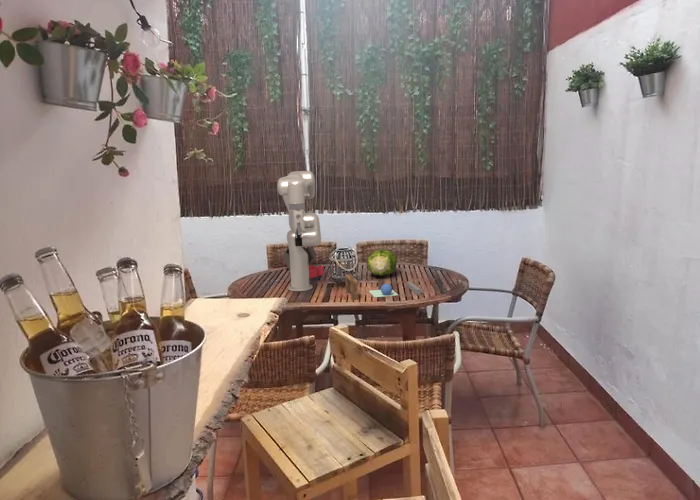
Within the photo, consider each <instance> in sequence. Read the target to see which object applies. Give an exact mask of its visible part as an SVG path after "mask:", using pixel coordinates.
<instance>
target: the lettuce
mask: <svg viewBox="0 0 700 500" xmlns="http://www.w3.org/2000/svg"><path fill="white" fill-rule="evenodd" d="M397 264H398V260H397V256H396V254H395V253H394V252H393V251H392V250H390V249H386V248H385V249H384V248H383V249H376V250H375V251H373V252H372V253H370V254H369V256H368V257H367V260H366V266H367V269H368V271H369V272H370V273H371V274H373V275H375V276H380V277H383V276H384V277H385V276H389V275H390V274H393V273H394V271H395V270H396V267H397Z"/></svg>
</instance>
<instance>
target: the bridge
mask: <svg viewBox="0 0 700 500" xmlns="http://www.w3.org/2000/svg"><path fill="white" fill-rule="evenodd" d="M344 277H345V293H346V294H350V300H351V301H356V300H359V297H358V296H359V293H358V292H359V289H358V280H357V279H356V277H354V275H352V273H348V274H347V273H346V274H345V276H344Z"/></svg>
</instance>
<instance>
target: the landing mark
mask: <svg viewBox="0 0 700 500" xmlns="http://www.w3.org/2000/svg"><path fill="white" fill-rule="evenodd" d="M368 292H369V294H371V296H373V298H383V297H393V296H399V294H398V293H397V292H395V291H394V290H393V289H392V292H391V294H389V295H384V294H383V293H382V292H381V289H375V290H373V289H372V290H368Z"/></svg>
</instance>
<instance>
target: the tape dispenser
mask: <svg viewBox="0 0 700 500" xmlns="http://www.w3.org/2000/svg"><path fill="white" fill-rule="evenodd" d="M308 267H309V279H312V278H317V277H319V276H320V277H321V276H323V275H324V265H318V266H317V265H314V266H313V264H311V265H308Z"/></svg>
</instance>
